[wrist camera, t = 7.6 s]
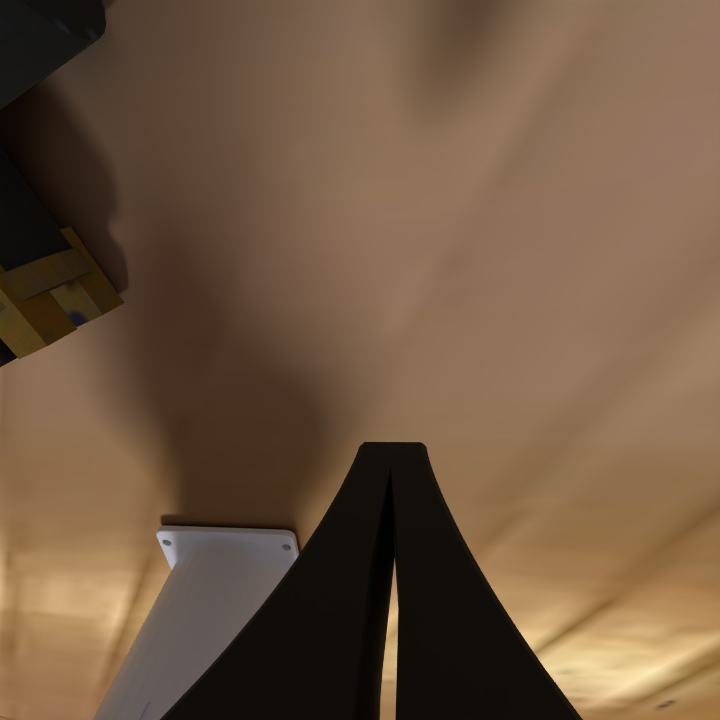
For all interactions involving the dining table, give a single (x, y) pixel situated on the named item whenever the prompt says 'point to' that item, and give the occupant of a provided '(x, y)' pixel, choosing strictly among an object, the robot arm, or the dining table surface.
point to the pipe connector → (21, 206)
